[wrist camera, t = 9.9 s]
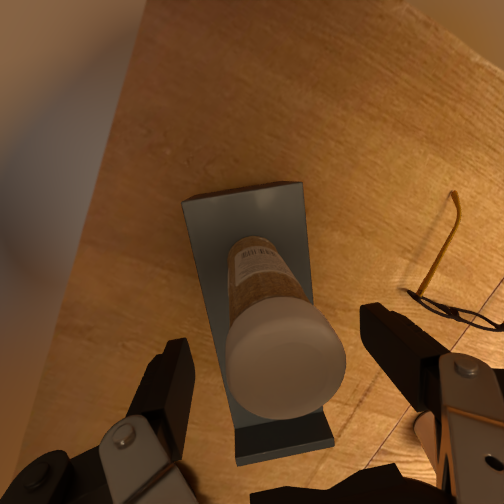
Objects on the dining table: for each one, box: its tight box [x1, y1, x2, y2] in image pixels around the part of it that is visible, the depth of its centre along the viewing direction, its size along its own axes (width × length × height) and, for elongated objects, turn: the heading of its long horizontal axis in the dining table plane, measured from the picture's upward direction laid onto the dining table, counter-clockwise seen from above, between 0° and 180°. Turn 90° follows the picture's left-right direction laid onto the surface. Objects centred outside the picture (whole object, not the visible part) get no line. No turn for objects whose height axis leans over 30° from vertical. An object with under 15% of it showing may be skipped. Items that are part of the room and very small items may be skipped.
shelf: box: [181, 181, 335, 467], centre depth 26 cm, size 26×10×11 cm, turn 9°
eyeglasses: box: [407, 190, 504, 332], centre depth 31 cm, size 14×14×4 cm
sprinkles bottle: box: [225, 236, 346, 420], centre depth 15 cm, size 5×5×14 cm
